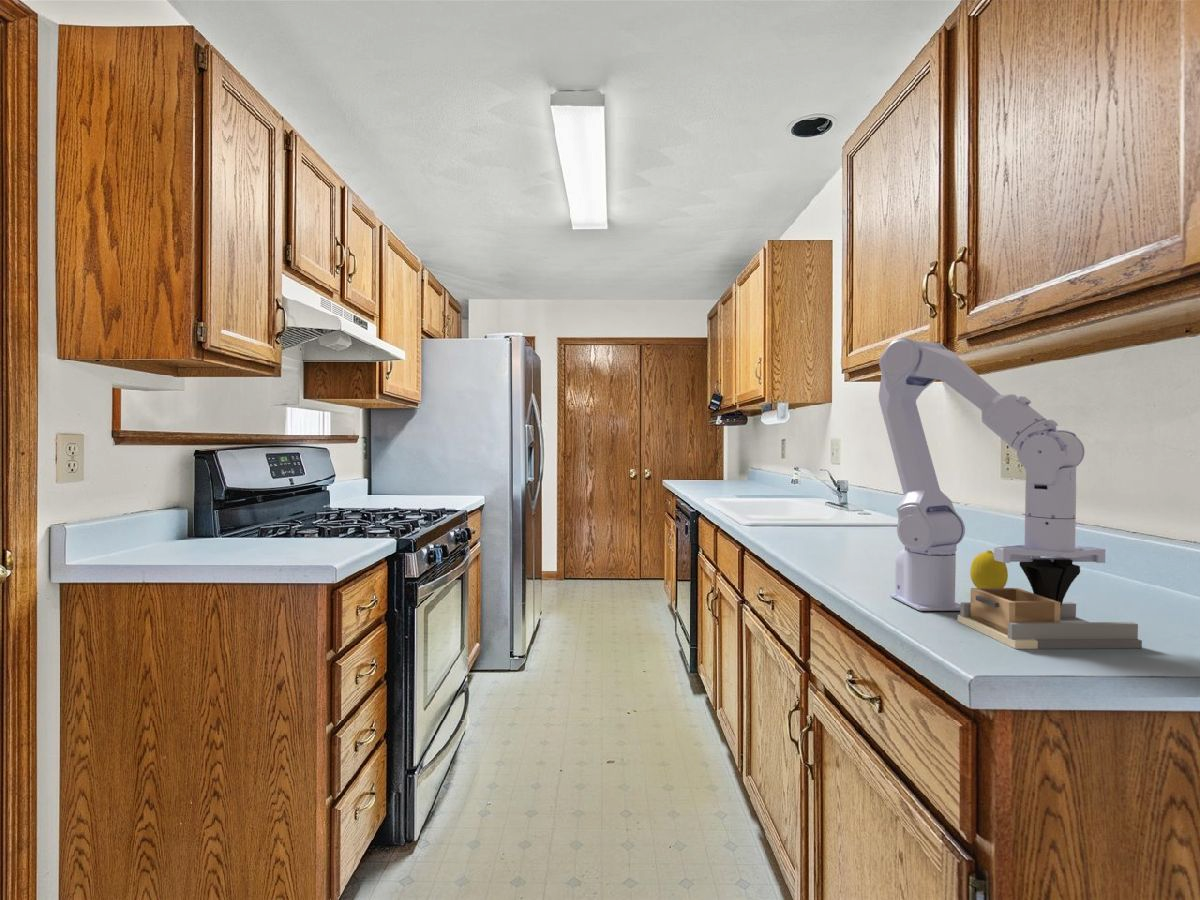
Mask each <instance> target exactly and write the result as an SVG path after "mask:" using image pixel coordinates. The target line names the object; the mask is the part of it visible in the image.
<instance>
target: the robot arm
mask: <svg viewBox="0 0 1200 900" xmlns="http://www.w3.org/2000/svg"><path fill="white" fill-rule="evenodd" d="M878 366H879V369H880V373H881V376H880V383H879V389H878V390H879V391H878V403H879V406H880V409H881V413H882V416H883V420H884V424H885V425H884V426H885V428H886V429H885V430H886V433H887V435H888V436H887V437H888V439H889V443H890V447H891V451H892V455H893V459H894V463H895V467H896V470H897V474H898V475H897V476H898V478H899V482H900V486H901V489H902V490H901V491H902V494H903V498H902V499H901V500H900V501H899V504H898V505H897V507H896V510H897V511H896V512H897V516H898V517H897V518H898V521H897V526H896V533H897V536H898V539H899V541H900V543H901V544H902V545H903V546H904V548H903V549H902V550H900V552H899V553H898V554H897V556H896V559H895V569H894V570H895V574H894V575H895V576H894V577H895V579H894V582H895V583H894V584H895V585H894V587H895V588H894V589H895V590H894V592H893V593H892V592H891V593H890V594H889V597H891V598H893V599H895V600H897V601H899V602H900V603H903V604H905V605H907V606H910V607H912V608H913V609H916V610H917V611H922V612H924V611H925V612H927V611H928V612H929V611H931V612H932V611H933V612H934V611H935V612H937V611H938V612H942V611H943V612H944V611H949V612H952V611H953V612H955V611H957V612H958V611H959V612H960V603H958V602H956V573H957V572H956V571H957V570H956V564H957V563H956V562H957V560H956V559H957V558H956V557H957V555H956V553H957V545H958V544H960V542H962V540H963V539H964V537H965V534H966V527H965V526H966V525H965V522H964V520H963V519H962V517H961V516H960V515H959V513H957V511H956V510H955V507H954V505H953V502H952V500H951V499H950V498H949V496H947V495H946V494H945V493H944V492H943V491H942V490H941V488H940V484H939V481H938V478H937V475H936V470H935V467H934V464H933V463H934V462H933V459H932V456H931V452H930V448H929V444H928V442H927V438H926V433H925V431H924V426H923V424H922V420H921V419H922V418H921V416H920V413H919V410H918V406H917V399H918V398H919V396H921V394H922V392H924V391H925V390H926V389H927V388H928V387H930V386H931V385H932V384H933V383H934V382H935V381H937V380H938V381H939V380H940V381H942V382H944V383H945V384H946V385H948V387H950V388H952V389H953V390H955V392H957V393H958V394H960V395H961V396H962V397H963V398H964V399H966V400H967V401H969V402H970V403H971V404H973V405H974V406H975V407H976V408H978V409H979V410H980V411H981V422H982V423H983V424H984V425H985V426H986V427H987V428H989V430H991V431H992V432H993V433H994V434H995V435H996V436H998V437H999V438H1000V439H1001V440H1003V442H1005V443H1006V444H1007V445H1009V446H1010V447H1011V448H1012V449H1013V450H1014V451H1016V456H1017V459H1018V461H1019V463H1020V464H1021V466H1022V467H1023V468H1024V470H1025V492H1024V493H1025V497H1024V499H1025V504H1024V506H1025V507H1024V511H1025V512H1024V514H1025V515H1024V544H1019V545H1006V546H1005V545H1004V546H994V547H993V548H994V549H993V553H994V560H996V561H999V562H1003V563H1005V564H1010V563H1014V562H1015V563H1017V562H1018V563H1019V567H1020V568H1021V570H1022V571H1023V573H1024V575H1025V576H1026V578H1027V580H1028V582H1029V585H1030V587H1031V590H1032V593H1034V594H1037V595H1040V596H1043V597H1046V598H1049V599H1052V600H1055V601H1058V602H1061V605H1062V602H1064V599H1065V597H1066V594H1067V592H1068V590H1069V588H1070V587H1071V585H1072V583H1073V582H1074V581H1075V579H1076V578H1077V577H1078V576H1079V575H1080V574H1081V565H1078V564H1074V563H1077V562H1078V563H1084V562H1085V563H1087V562H1088V563H1098V564H1105V563H1106V549H1105V548H1101V547H1096V546H1077V545H1076V525H1077V524H1076V523H1077V521H1076V518H1077V515H1076V514H1077V467H1078V466H1079V465H1080V464H1081V463H1082V461H1083V459H1084V458H1085V451H1086V450H1085V446H1084V444H1083V442H1082V440H1081V439H1080V438H1079V437H1078V436H1077V434H1076V433H1074V432H1072V431H1069V430H1066V429H1065V430H1063V429H1062V430H1061V429H1060V430H1059V429H1057V426H1058V425H1059V424H1058V422H1056V421H1055V420H1054V419H1047V418H1045V417H1044V416H1043V415H1041V414H1040V413H1039V412H1038V411H1036V410H1035V409H1034V408H1033V407H1032V406H1030V404H1031V403H1032V401H1031V399H1029V398H1027V397H1026V396H1021V395H1020V396H1017V395H1016V394H1012V393H1010V394H1000V393H999V392H998V391H997V390H996V389H995V388H994V387H992V386H991V385H990V384H989V383H988V382H987V381H986V380H985V379H984V378H983V377H981V376H980V375H979V374H978V373H977V372H975V370H973V369H972V368H971V367H970V366H969V365H968V364H967V363H966V362H965V361H963V360H962V359H961V358H960V357H959V356H958V355H957V354H956V352H954V351H953V350H949V349H947V348H946V346H944V344H942V343H939V342H935V341H933V342H931V341H929V342H928V341H922V340H915V339H911V338H908V337H899V338H896V339H894V340H892V341H891V342H890V343H889V344H888V345H887V346H886V347H885V350H884V351H883V353H881V355H880V357H879V359H878ZM1061 605H1060V608H1061Z"/></svg>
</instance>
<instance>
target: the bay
mask: <svg viewBox="0 0 1200 900" xmlns="http://www.w3.org/2000/svg"><path fill="white" fill-rule="evenodd" d="M959 604H960V611H959V612H960V614H957V622H958V623H960V624H962V625H964V626H967V627H969V628H971V629H973V630H975V631H977V632H979V633H981V634H983V635H986V637H987V636H988V637H990V638H992V639H994V640H996V641H998V642H1001V643H1002V644H1004V645H1006V646H1008V647H1011V648H1013V649H1016V650H1017V649H1019V650H1020V649H1021V650H1022V649H1024V650H1027V649H1031V650H1032V649H1034V650H1035V649H1040V650H1041V649H1045V650H1046V649H1049V650H1050V649H1051V650H1052V649H1054V650H1055V649H1056V650H1059V649H1142V648H1143V640H1141V639H1139V624H1138V623H1137V622H1133V621H1132V622H1131V621H1125V622H1123V621H1120V622H1119V621H1118V622H1117V621H1115V622H1114V621H1110V622H1109V621H1108V622H1107V621H1104V622H1103V621H1095V622H1094V621H1092V622H1090V621H1088V620H1085V619H1083V618H1079V617H1077V603H1074V602H1070V601H1069V602H1067V601H1066V602H1064V601H1063V602H1062V605H1061V608H1060V622H1025V623H1008V635H1007V634H1005V633H1003V632H1000V631H998V630H996V629H994V628H991V627H989V626H987V625H985V624H983V623H980V622H978V621H976V620H974V619H972V618H970V606H971V601H970V602H960V603H959Z"/></svg>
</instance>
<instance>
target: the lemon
mask: <svg viewBox="0 0 1200 900" xmlns="http://www.w3.org/2000/svg"><path fill="white" fill-rule="evenodd" d="M969 571H970V573H969V575H970V580H971V582H972V584H973V585H974V586H975V588H1005V586H1006V585H1007V583H1008V577H1009V572H1008V568H1007V563H1003V562H999V561H996V560H994V551H993V550H989V549H988V550H986V551H984V552H982V553H979V554H977V555H976V556H975V557H974V558H973V560H972V562H971V565H970V570H969Z"/></svg>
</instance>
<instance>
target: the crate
mask: <svg viewBox="0 0 1200 900" xmlns="http://www.w3.org/2000/svg"><path fill="white" fill-rule="evenodd" d="M970 602H971V606H970V618H972V619H974V620H976V621H978V622H980V623H983V624H985V625H987V626H989V627H991V628H994V629H996V630H998V631H1000V632H1003V633H1005V634H1007V635H1008V623H1025V622H1060V605H1061V602H1058V601H1055V600H1052V599H1049V598H1046V597H1043V596H1040V595H1037V594H1034V593H1033V592H1030V591H1027V590H1024V589H1022V588H1018V587H1004V588H977V587H971V588H970Z"/></svg>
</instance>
